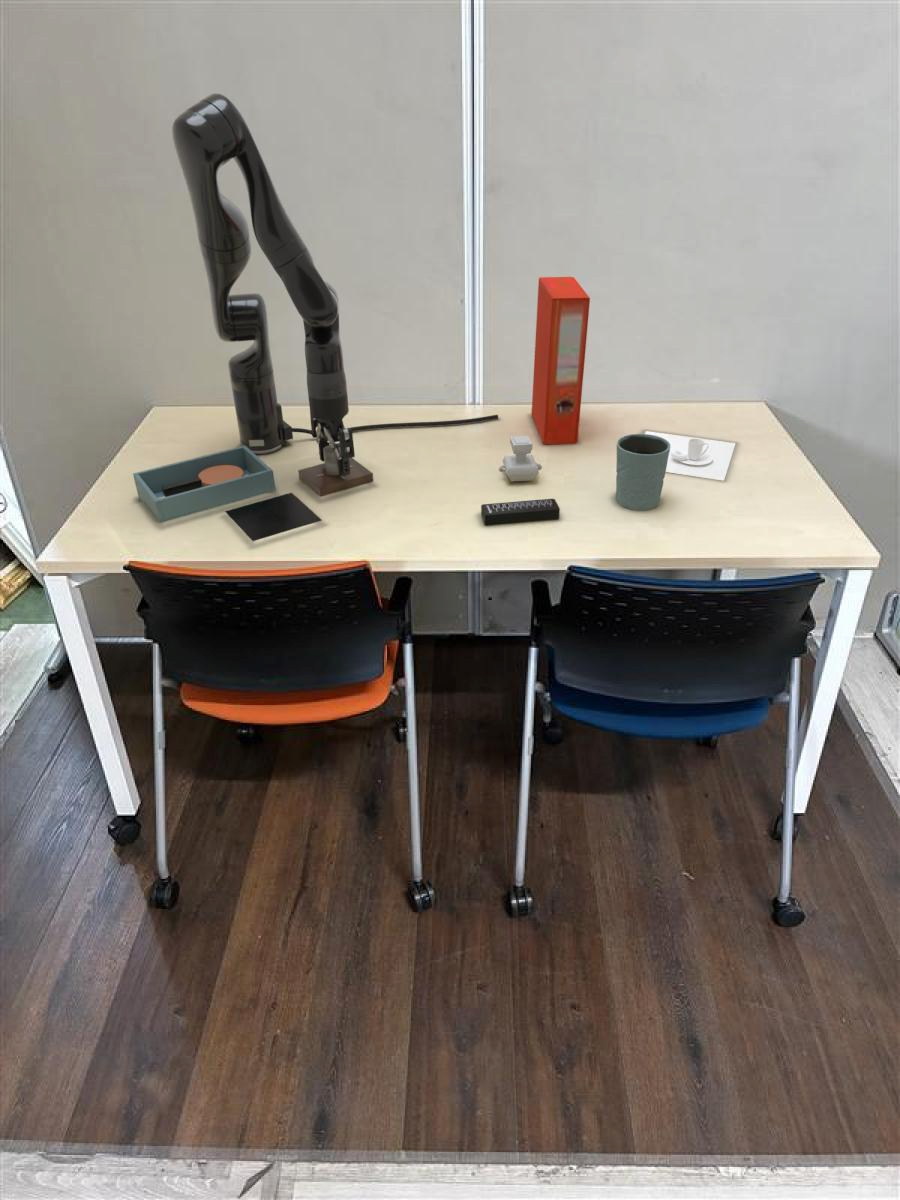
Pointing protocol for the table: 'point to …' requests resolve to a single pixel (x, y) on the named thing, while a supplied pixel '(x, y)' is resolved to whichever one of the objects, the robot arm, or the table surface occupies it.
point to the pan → (204, 479)
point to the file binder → (559, 358)
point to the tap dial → (330, 461)
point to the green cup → (640, 470)
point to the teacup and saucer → (697, 456)
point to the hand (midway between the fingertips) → (335, 467)
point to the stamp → (520, 461)
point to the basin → (209, 495)
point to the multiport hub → (520, 512)
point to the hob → (272, 516)
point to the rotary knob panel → (334, 478)
